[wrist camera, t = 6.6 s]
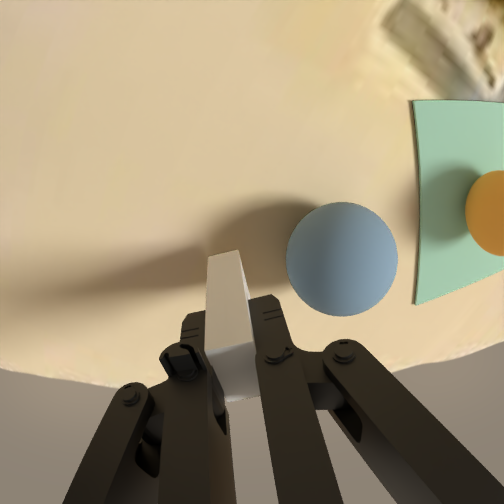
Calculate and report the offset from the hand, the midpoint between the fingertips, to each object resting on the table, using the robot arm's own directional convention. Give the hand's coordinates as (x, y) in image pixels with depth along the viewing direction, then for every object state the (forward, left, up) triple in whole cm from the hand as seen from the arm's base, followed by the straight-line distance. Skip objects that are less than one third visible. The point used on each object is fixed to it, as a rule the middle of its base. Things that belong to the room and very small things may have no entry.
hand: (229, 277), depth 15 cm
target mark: (+3, +19, -2) cm, 19 cm away
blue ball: (+1, +5, +1) cm, 6 cm away
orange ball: (+3, +17, +1) cm, 17 cm away
